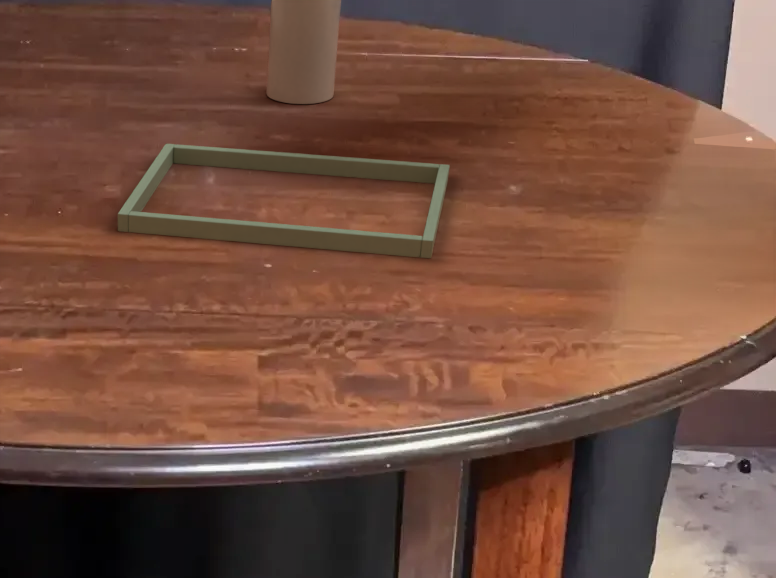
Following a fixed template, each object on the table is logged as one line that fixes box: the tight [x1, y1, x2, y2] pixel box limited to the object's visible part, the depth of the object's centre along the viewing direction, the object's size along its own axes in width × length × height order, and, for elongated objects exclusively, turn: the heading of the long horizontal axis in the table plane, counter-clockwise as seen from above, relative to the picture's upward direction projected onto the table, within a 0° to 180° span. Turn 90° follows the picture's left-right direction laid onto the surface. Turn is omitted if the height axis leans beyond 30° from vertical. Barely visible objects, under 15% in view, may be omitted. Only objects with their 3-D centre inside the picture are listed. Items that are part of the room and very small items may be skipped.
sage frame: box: [117, 143, 451, 259], centre depth 87 cm, size 17×12×2 cm
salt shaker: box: [265, 0, 342, 105], centre depth 104 cm, size 5×5×11 cm
